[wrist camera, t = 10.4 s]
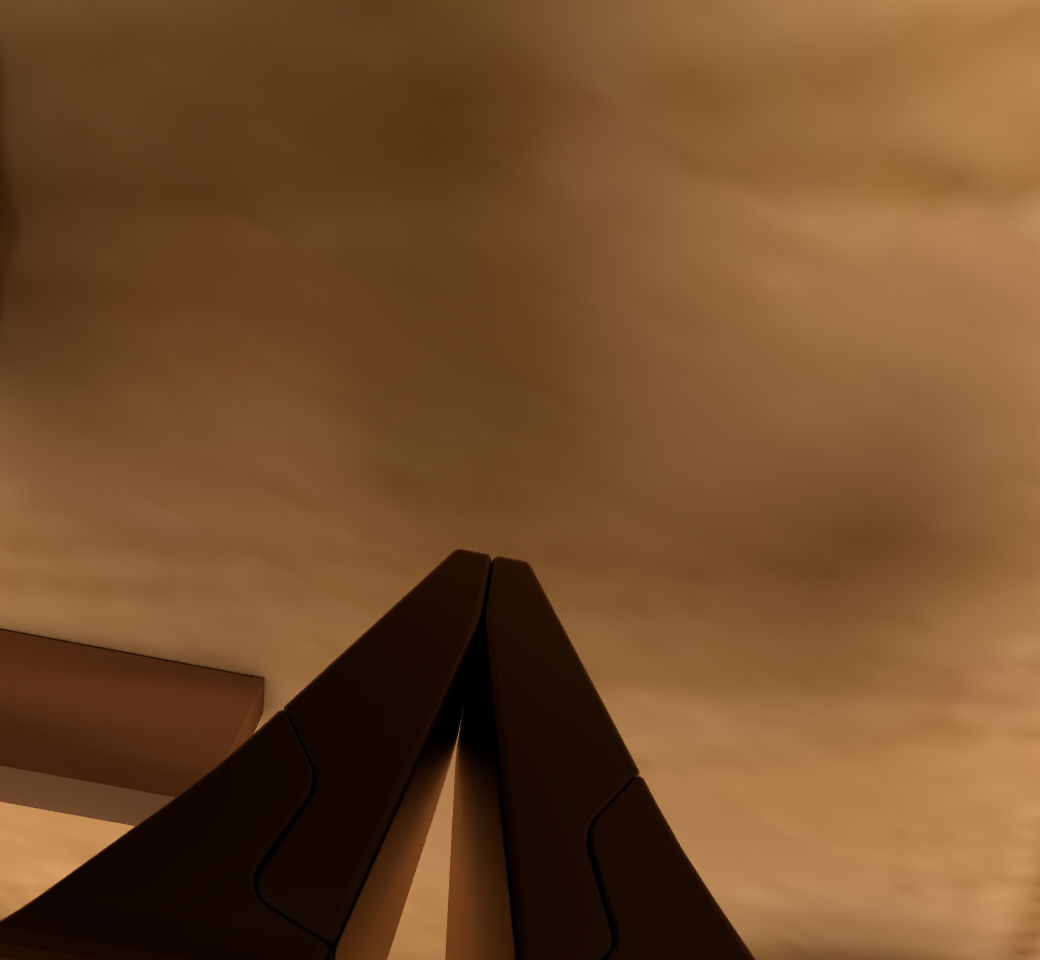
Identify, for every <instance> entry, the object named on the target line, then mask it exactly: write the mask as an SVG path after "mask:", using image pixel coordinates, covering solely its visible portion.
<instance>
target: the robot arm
mask: <svg viewBox="0 0 1040 960" xmlns="http://www.w3.org/2000/svg"><path fill="white" fill-rule="evenodd" d="M462 712H463V713H462ZM461 717H462V719H461ZM460 722H461V724H460ZM459 727H460V730H459ZM458 731H459V737H458V744H457V753H456V765H455V783H454V802H453V821H452V840H451V860H450V879H449V898H448V917H447V936H446V956H445V960H756V959H755V958H754V956H753V955H752V954H751V952H750V951H749V949H748V948H747V946H746V945H745V943H744V942H743V940H742V939H741V937H740V936H739V934H738V933H737V932H736V930H735V929H734V927H733V926H732V924H731V923H730V921H729V920H728V918H727V917H726V915H725V914H724V912H723V911H722V910H721V908H720V907H719V905H718V904H717V902H716V901H715V899H714V898H713V896H712V895H711V893H710V891H709V890H708V888H707V887H706V885H705V884H704V882H703V881H702V879H701V877H700V876H699V874H698V873H697V871H696V870H695V868H694V867H693V865H692V864H691V862H690V860H689V859H688V857H687V856H686V854H685V853H684V851H683V849H682V848H681V846H680V844H679V842H678V841H677V839H676V837H675V835H674V834H673V832H672V830H671V828H670V827H669V825H668V823H667V821H666V819H665V818H664V816H663V814H662V812H661V811H660V809H659V807H658V805H657V803H656V802H655V800H654V798H653V796H652V794H651V792H650V790H649V788H648V786H647V784H646V782H645V780H644V779H643V778H642V777H639V770H638V768H637V766H636V764H635V762H634V760H633V758H632V757H631V755H630V753H629V751H628V749H627V747H626V745H625V743H624V741H623V740H622V738H621V736H620V734H619V732H618V730H617V728H616V726H615V724H614V723H613V721H612V719H611V717H610V715H609V713H608V711H607V709H606V707H605V705H604V704H603V702H602V700H601V698H600V696H599V694H598V692H597V690H596V688H595V687H594V685H593V683H592V681H591V679H590V677H589V675H588V673H587V671H586V670H585V668H584V666H583V664H582V662H581V660H580V658H579V656H578V654H577V653H576V651H575V649H574V647H573V645H572V643H571V641H570V639H569V637H568V636H567V634H566V632H565V630H564V628H563V626H562V624H561V622H560V620H559V619H558V617H557V615H556V613H555V611H554V609H553V607H552V605H551V603H550V602H549V600H548V598H547V596H546V594H545V592H544V590H543V588H542V586H541V585H540V583H539V581H538V579H537V577H536V575H535V573H534V571H533V569H532V567H531V566H530V564H528V563H527V562H525V561H520V560H515V559H510V558H505V557H495V558H494V559H493V560H492V563H491V557H490V556H489V555H488V554H484V553H479V552H474V551H468V550H463V549H457V550H455V551H454V552H452V553H451V554H450V555H449V556H448V557H447V558H446V559H445V560H444V561H443V562H442V563H440V564H439V565H438V566H437V567H436V568H435V569H434V570H433V571H432V572H431V573H430V574H428V575H427V576H426V577H425V578H424V579H423V580H422V581H421V582H420V583H419V584H418V585H416V586H415V587H414V588H413V589H412V590H411V591H410V592H409V593H408V594H407V595H406V596H404V597H403V598H402V599H401V600H400V601H399V602H398V603H397V604H396V605H395V606H394V607H392V608H391V609H390V610H389V611H388V612H387V613H386V614H385V615H384V616H383V617H382V618H380V619H379V620H378V621H377V622H376V623H375V624H374V625H373V626H372V627H371V628H370V629H368V630H367V631H366V632H365V633H364V634H363V635H362V636H361V637H360V638H359V639H358V640H356V641H355V642H354V643H353V644H352V645H351V646H350V647H349V648H348V649H347V650H346V651H344V652H343V653H342V654H341V655H340V656H339V657H338V658H337V659H336V660H335V661H334V662H332V663H331V664H330V665H329V666H328V667H327V668H326V669H325V670H324V671H323V672H322V673H320V674H319V675H318V676H317V677H316V678H315V679H314V680H313V681H312V682H311V683H310V684H308V685H307V686H306V687H305V688H304V689H303V690H302V691H301V692H300V693H299V694H298V695H296V696H295V697H294V698H293V699H292V700H291V701H290V702H289V703H288V704H287V705H286V706H285V707H284V711H283V710H281V711H279V712H277V713H276V714H275V715H274V716H273V717H272V718H271V719H270V720H269V721H268V722H266V723H265V724H264V725H263V726H262V727H261V728H260V729H259V730H258V731H257V732H256V733H255V734H253V735H252V736H251V737H250V738H249V739H248V740H246V741H245V742H244V743H243V744H242V745H241V746H239V747H238V748H237V749H236V750H235V751H234V752H232V753H231V754H230V755H229V756H228V757H227V758H225V759H224V760H223V761H222V762H221V763H220V764H218V765H217V766H216V767H215V768H214V769H212V770H211V771H210V772H208V773H207V774H206V775H204V776H203V777H202V778H200V779H199V780H198V781H196V782H195V783H194V784H192V785H191V786H190V787H188V788H187V789H186V790H184V791H183V792H182V793H181V794H179V795H178V796H177V797H175V798H174V799H173V800H171V801H170V802H169V803H167V804H166V805H165V806H163V807H162V808H160V809H159V810H158V811H156V812H155V813H153V814H152V815H151V816H149V817H148V818H147V819H145V820H144V821H142V822H141V823H140V824H138V825H137V826H135V827H134V828H133V829H131V830H130V831H128V832H127V833H126V834H124V835H123V836H122V837H120V838H119V839H117V840H116V841H115V842H113V843H112V844H110V845H109V846H108V847H106V848H105V849H104V850H102V851H101V852H99V853H98V854H97V855H95V856H94V857H92V858H91V859H90V860H88V861H87V862H86V863H84V864H83V865H81V866H80V867H79V868H77V869H76V870H74V871H73V872H72V873H70V874H69V875H67V876H66V877H65V878H63V879H62V880H61V881H59V882H58V883H56V884H55V885H54V886H52V887H51V888H49V889H48V890H47V891H45V892H44V893H43V894H41V895H40V896H38V897H37V898H35V899H34V900H32V901H31V902H29V903H28V904H26V905H25V906H24V907H22V908H21V909H19V910H18V911H16V912H14V913H12V914H11V915H9V916H7V917H6V918H4V919H2V920H1V921H0V960H387V958H388V955H389V952H390V949H391V946H392V942H393V939H394V936H395V933H396V930H397V927H398V924H399V921H400V918H401V915H402V912H403V908H404V905H405V902H406V899H407V896H408V893H409V890H410V887H411V884H412V881H413V878H414V874H415V871H416V868H417V865H418V862H419V859H420V856H421V853H422V850H423V847H424V844H425V840H426V837H427V834H428V831H429V828H430V825H431V822H432V819H433V816H434V813H435V810H436V806H437V803H438V800H439V797H440V794H441V791H442V788H443V785H444V782H445V779H446V775H447V772H448V769H449V766H450V763H451V759H452V756H453V752H454V749H455V745H456V741H457V736H458Z"/></svg>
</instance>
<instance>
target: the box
mask: <svg viewBox="0 0 1040 960" xmlns="http://www.w3.org/2000/svg"><path fill="white" fill-rule="evenodd" d="M263 693H264V679H260V678H255V677H249V676H244V675H239V674H233V673H228V672H223V671H217V670H212V669H207V668H201V667H196V666H191V665H185V664H180V663H175V662H169V661H164V660H159V659H153V658H148V657H143V656H137V655H132V654H127V653H121V652H116V651H111V650H105V649H100V648H95V647H89V646H84V645H79V644H73V643H68V642H63V641H57V640H52V639H47V638H41V637H36V636H31V635H25V634H20V633H15V632H9V631H4V630H0V802H5V803H11V804H16V805H22V806H27V807H33V808H39V809H44V810H50V811H55V812H61V813H66V814H72V815H77V816H83V817H88V818H94V819H100V820H105V821H111V822H116V823H122V824H127V825H133V826H137V825H138V824H140V823H141V822H142V821H144V820H145V819H147V818H148V817H149V816H151V815H152V814H153V813H155V812H156V811H158V810H159V809H160V808H162V807H163V806H165V805H166V804H167V803H169V802H170V801H171V800H173V799H174V798H175V797H177V796H178V795H179V794H181V793H182V792H183V791H184V790H186V789H187V788H188V787H190V786H191V785H192V784H194V783H195V782H196V781H198V780H199V779H200V778H202V777H203V776H204V775H206V774H207V773H208V772H210V771H211V770H212V769H214V768H215V767H216V766H217V765H218V764H220V763H221V762H222V761H223V760H224V759H225V758H227V757H228V756H229V755H230V754H231V753H232V752H234V751H235V750H236V749H237V748H238V747H239V746H241V745H242V744H243V743H244V742H245V741H246V740H248V739H249V738H250V737H251V736H252V735H253V734H254V731H255V729H256V727H257V725H258V723H259V721H260V718H261V716H262V714H263Z"/></svg>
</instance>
